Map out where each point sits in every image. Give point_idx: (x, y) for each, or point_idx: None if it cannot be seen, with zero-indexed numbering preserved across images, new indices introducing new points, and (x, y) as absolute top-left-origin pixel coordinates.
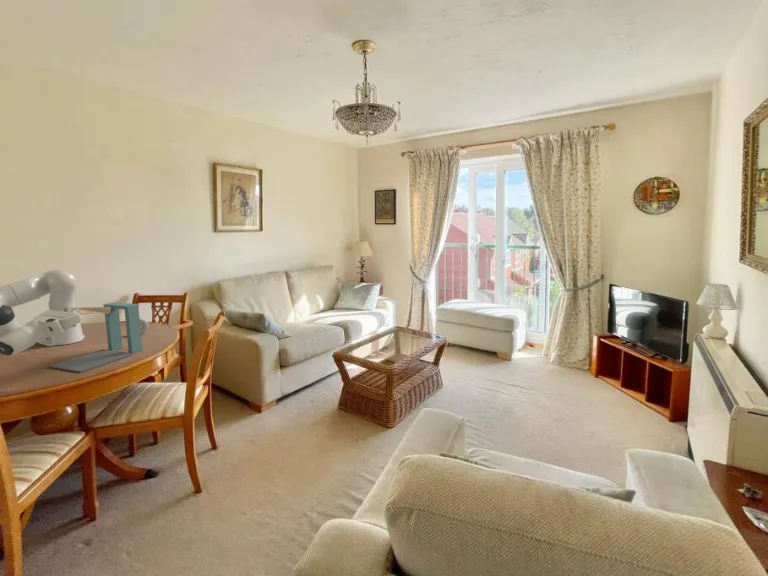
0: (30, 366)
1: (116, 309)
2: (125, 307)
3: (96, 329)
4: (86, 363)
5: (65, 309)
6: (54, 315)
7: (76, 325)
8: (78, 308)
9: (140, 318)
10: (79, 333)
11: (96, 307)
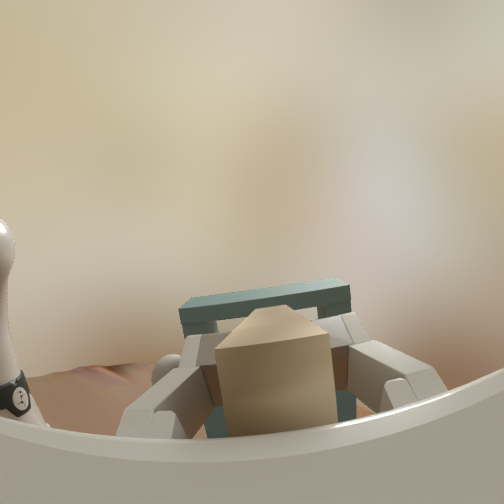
0: None
1: (216, 327)
2: (336, 292)
3: (49, 396)
4: None
5: (246, 377)
6: None
7: (31, 404)
8: (355, 315)
9: (175, 356)
10: (44, 426)
11: (279, 309)
